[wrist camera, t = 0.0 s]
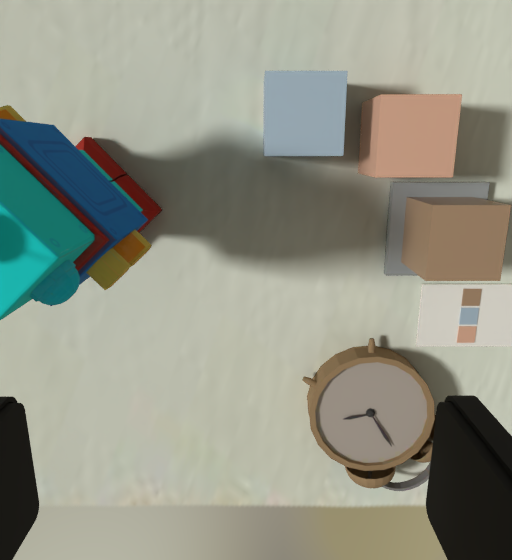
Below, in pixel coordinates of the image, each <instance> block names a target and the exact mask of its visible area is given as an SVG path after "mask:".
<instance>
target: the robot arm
mask: <svg viewBox="0 0 512 560" xmlns="http://www.w3.org/2000/svg"><path fill="white" fill-rule="evenodd" d="M426 509H427V514H428V518H429V521H430V523H431V525H432V527H433V529H434V531H435V533H436V535H437V538H438V540H439V542H440V544H441V546H442V548H443V550H444V553H445V555H446V557H447V559H448V560H512V436H511V435H510V434H509V433H508V432H507V431H506V429H505V428H504V427H503V426H502V425H501V424H500V423H499V422H498V420H497V419H496V418H495V417H494V416H493V415H492V414H491V413H490V412H489V410H488V409H487V408H486V407H485V406H484V405H483V404H482V403H481V401H480V400H479V399H478V398H477V397H475V396H447V397H446V399H445V402H440V403H439V404H438V406H437V411H436V420H435V429H434V437H433V446H432V455H431V463H430V472H429V481H428V489H427V498H426ZM38 510H39V499H38V492H37V486H36V479H35V473H34V466H33V460H32V453H31V447H30V440H29V434H28V427H27V421H26V414H25V409H24V406H23V404H21V403H17V401H16V399H15V398H14V397H0V560H12V559H13V557H14V556H15V554H16V552H17V551H18V549H19V547H20V546H21V544H22V542H23V540H24V539H25V537H26V535H27V534H28V532H29V530H30V529H31V527H32V525H33V524H34V522H35V520H36V518H37V514H38Z"/></svg>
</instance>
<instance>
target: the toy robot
mask: <svg viewBox="0 0 512 560" xmlns="http://www.w3.org/2000/svg"><path fill="white" fill-rule="evenodd" d="M126 174H127V173H126V172H125V171H124V170H123V169H122V168H121V167H120V166H119V165H118V164H117V163H116V162H115V161H114V160H113V159H112V158H111V157H110V156H109V155H108V154H107V153H106V152H105V151H104V150H103V149H102V148H101V147H100V146H99V145H98V144H97V143H96V142H95V141H94V140H93V139H92V138H91V137H84V138H83V139H82V140H81V141H80V142H79V143H78V144H77V146H76V147H75V146H74V145H73V144H72V143H71V142H70V141H69V140H68V139H67V138H66V137H65V136H64V135H63V134H62V133H61V132H60V131H59V130H58V129H57V128H56V127H55V126H54V125H48V124H40V123H32V122H26V121H25V120H24V119H23V118H22V117H21V116H20V115H19V114H18V113H17V112H16V111H15V110H14V109H13V108H12V107H11V106H8V105H7V106H3V107H1V108H0V320H1V319H3V318H4V317H6V316H7V315H9V314H10V313H12V312H13V311H15V310H16V309H18V308H19V307H21V306H22V305H24V304H25V303H27V302H28V301H30V300H31V299H34V300H35V301H36V302H37V301H40V302H42V303H44V304H47V305H50V306H52V305H57V304H61V303H63V302H65V301H67V300H68V299H69V298H70V297H71V296H72V295H73V294H74V293H75V292H76V291H77V289H78V287H79V285H80V284H81V283H82V282H84V281H85V280H86V279H87V278H89V277H92V278H93V279H94V280H95V281H96V282H97V283H98V284H99V285H100V286H101V287H102V288H103V289H104V290H106V289H108V288H110V287H111V286H112V285H113V284H114V283H115V282H116V281H117V280H118V279H119V278H120V277H121V276H122V275H124V274H125V273H126V272H127V270H128V269H129V267H131V266H132V265H134V264H135V263H136V262H137V261H138V260H139V259H140V258H141V257H142V256H143V255H144V254H145V253H146V252H147V251H148V250H149V249H150V247H151V246H152V245H151V244H150V243H149V242H148V241H147V240H146V239H145V238H144V237H143V236H142V235H141V234H140V233H139V232H140V231H141V230H142V229H143V228H144V227H145V226H146V225H147V224H148V223H149V222H150V221H151V220H152V219H153V218H154V217H155V216H156V215H158V214H159V213H160V212H161V211H162V209H161V208H160V207H159V206H158V205H157V204H156V203H155V202H154V201H153V200H152V199H151V198H150V197H149V196H148V195H147V194H146V193H145V192H144V191H143V190H142V189H141V188H140V187H139V185H138V184H137V183H136V182H135V181H134V180H133V179H132V178H131V177H130V176H129V175H126ZM125 175H126V176H125Z"/></svg>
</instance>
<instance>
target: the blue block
mask: <svg viewBox="0 0 512 560" xmlns="http://www.w3.org/2000/svg"><path fill="white" fill-rule="evenodd" d="M346 92H347V71H265V77H264V156H343V153H344V133H345V112H346Z"/></svg>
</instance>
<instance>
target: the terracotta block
mask: <svg viewBox="0 0 512 560" xmlns="http://www.w3.org/2000/svg"><path fill="white" fill-rule="evenodd" d="M461 100H462V94H381V95H379V96H376V97H374V98H372V99H370V100H367V101H365V102H363V103H362V114H361V131H360V149H359V166H358V173H359V174H363V175H367V176H371V177H453V172H454V163H455V154H456V145H457V136H458V127H459V118H460V109H461Z"/></svg>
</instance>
